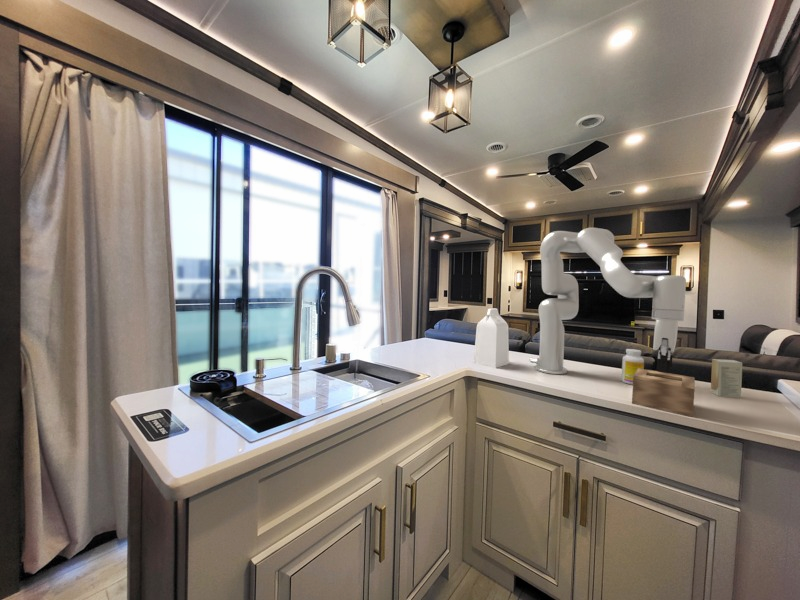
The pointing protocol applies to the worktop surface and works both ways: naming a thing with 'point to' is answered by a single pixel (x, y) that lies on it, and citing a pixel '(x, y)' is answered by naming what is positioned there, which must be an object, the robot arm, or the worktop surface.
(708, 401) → the worktop surface
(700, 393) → the worktop surface
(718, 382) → the skincare box
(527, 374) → the worktop surface
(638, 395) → the box
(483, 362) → the milk
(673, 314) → the robot arm
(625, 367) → the supplement bottle
